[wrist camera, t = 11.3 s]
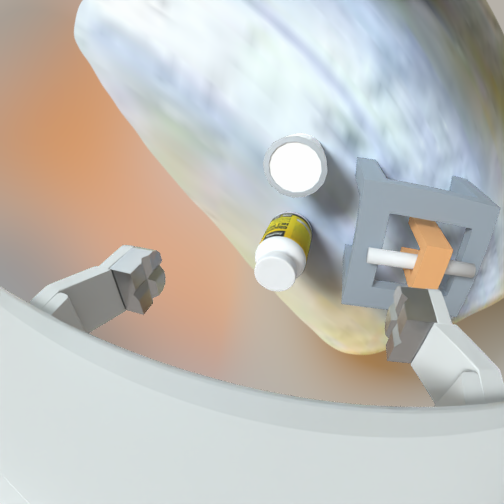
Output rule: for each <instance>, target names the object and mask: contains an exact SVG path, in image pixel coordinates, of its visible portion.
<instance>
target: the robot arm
mask: <svg viewBox="0 0 504 504" xmlns="http://www.w3.org/2000/svg"><path fill="white" fill-rule="evenodd" d="M161 261H162V259H161V256H160V253H159V252H158V251H156V250H151V249H146V248H141V247H135V246H129V245H123V246H121V247H120V248H119V249H118V250H117V251H115V252H114V253H113V254H112V255H111V256H110V257H109V258H108V259H106V260H105V261H104V262H103V263H102V264H101V265H100V266H99V267H98V266H95V267H92V268H89V269H87V270H84V271H82V272H79V273H77V274H74V275H72V276H69V277H67V278H64V279H62V280H59V281H57V282H54V283H52V284H49V285H47V286H46V287H45V288H44V289H43V290H42V291H40V293H38V294H37V295H36V296H35V297H34V298H33V299H32V300H31V301H30V302H29V303H27V302H26V301H24V300H22V299H21V298H19V297H17V296H15V295H14V294H12V293H10V292H9V291H7V290H6V289H4V288H2V287H1V286H0V504H504V383H503V379H502V376H501V372H500V370H499V368H498V367H497V366H496V365H495V364H494V363H493V362H492V361H491V360H490V359H489V357H487V356H486V354H484V352H483V351H482V350H481V349H480V348H479V347H478V346H477V345H476V344H475V343H474V342H473V341H472V340H471V339H470V338H469V337H468V336H467V335H466V334H465V333H464V332H463V331H462V330H461V329H460V328H459V327H458V326H457V325H454V324H452V322H451V318H450V315H449V312H448V309H447V307H446V304H445V301H444V298H443V295H442V293H441V291H440V290H438V289H427V288H426V289H423V288H414V287H405V286H397V288H396V289H395V292H394V295H393V297H394V303H393V304H392V305H390V306H389V309H388V312H387V315H386V321H385V334H386V336H387V337H388V338H389V339H388V342H387V344H386V351H387V361H393V362H402V363H411V366H412V367H413V369H414V371H415V372H416V374H417V375H418V377H419V378H420V380H421V382H422V383H423V385H424V387H425V388H426V390H427V392H428V393H429V395H430V396H431V398H432V400H433V401H434V403H435V406H434V407H397V406H395V407H394V406H377V405H362V404H351V403H341V402H333V401H325V400H317V399H311V398H303V397H297V396H292V395H286V394H280V393H275V392H270V391H265V390H260V389H256V388H251V387H247V386H242V385H238V384H234V383H230V382H226V381H222V380H218V379H214V378H211V377H207V376H204V375H200V374H197V373H193V372H190V371H187V370H183V369H180V368H177V367H174V366H171V365H168V364H165V363H162V362H159V361H156V360H153V359H151V358H148V357H145V356H142V355H140V354H137V353H134V352H132V351H129V350H126V349H123V348H121V347H119V346H116V345H114V344H111V343H109V342H107V341H104V340H102V339H100V338H97V337H95V336H93V335H91V334H88V333H90V332H91V331H93V330H95V329H96V328H98V327H100V326H101V325H103V324H105V323H106V322H108V321H110V320H111V319H113V318H114V317H116V316H118V315H120V314H121V313H123V312H124V311H126V310H128V311H132V312H136V313H140V314H145V312H146V311H147V310H148V309H149V307H150V306H151V304H153V298H154V297H156V296H158V295H159V294H160V293H161V292H162V290H163V288H164V285H165V273H164V270H163V269H162V268H161V267H160V263H161Z"/></svg>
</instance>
